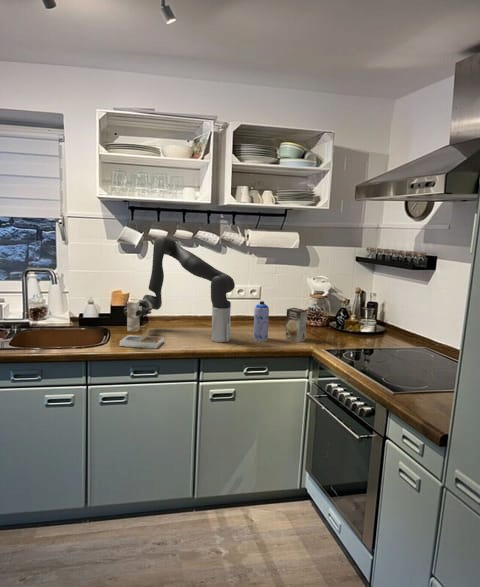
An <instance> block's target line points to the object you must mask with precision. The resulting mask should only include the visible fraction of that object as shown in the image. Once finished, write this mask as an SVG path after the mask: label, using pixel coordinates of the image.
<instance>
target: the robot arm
mask: <svg viewBox="0 0 480 587" xmlns="http://www.w3.org/2000/svg"><path fill="white" fill-rule="evenodd" d="M152 248H153V254H152V267H151V273H150V274H151V275H150V278H149V284H148V290H149V291H151V292H152V293H154V294H155V295H153V294H152V295H151V294H145V295H143V298H142V299H140V300H138V301H139V310H138V311H137V312H136V316H139V317H144V316H147V315H150V314H152V310H156V311H158V310H160V308H161V307H162V304H163V302H162V299H163V298H162V291H163V290H162V288H163V285H164V277H165V274H164V266H163V263H164V262H163V260H164V256H165V255H167V256H170V257H172V258H173V259H175V260H176V261H177V262H178V263H179V264H180V266H181V267H182V268H183V269H184V270H186V271H187V272H188V273H190V274H191V275H193V276H195V277H198V278H199V279H200V278H201V279H204V280H207V281H209V282H211V283H210V302H211V305H212V309H211V310H212V312H211V341H212V342H215V343H229V342H230V340H231V326H232V325H231V324H232V321H231V310H232V309H231V308H232V303H231V302H230V300H228V298H227V294H228V293H231V292H233V290H234V289H235V287H236V284H235V281H234V279H233V277H232V276H230V275H229V274H227V273H225V272H223V271H221V270H218V269H217V268H216V267H214V266H212V265H211V264H209V263H208V262H206V261H205V260H204V259H202V258H201V257H199V256H197V255H195V254H194V253H193V252H191V251H190V250H188V249H185V248H184V247H183V246H181V245H180V244H179V243H178V242H177V241H175V240H174V239H172V238H170V237H166V236H161V235H160V236H157V237H156V239H155V240H154V242H153V247H152ZM123 315H125V316H126V317H127V306H124V308H123Z"/></svg>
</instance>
